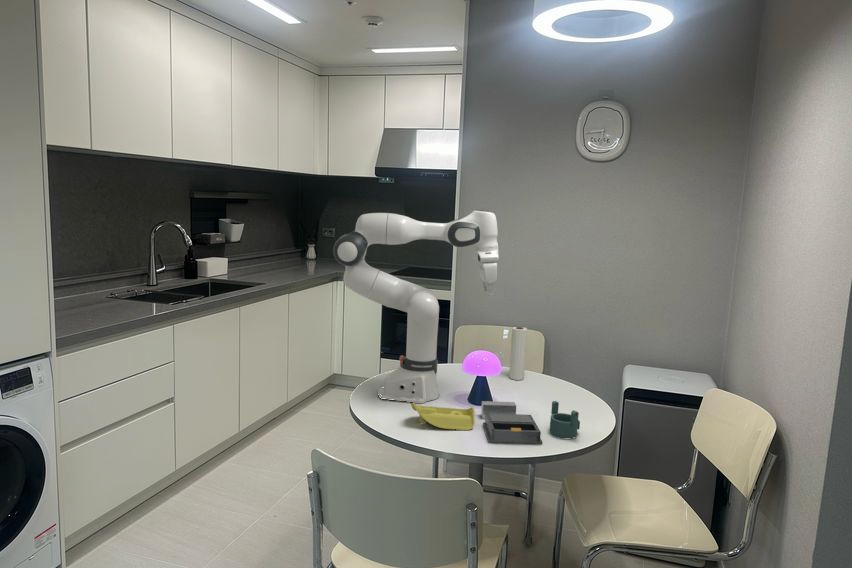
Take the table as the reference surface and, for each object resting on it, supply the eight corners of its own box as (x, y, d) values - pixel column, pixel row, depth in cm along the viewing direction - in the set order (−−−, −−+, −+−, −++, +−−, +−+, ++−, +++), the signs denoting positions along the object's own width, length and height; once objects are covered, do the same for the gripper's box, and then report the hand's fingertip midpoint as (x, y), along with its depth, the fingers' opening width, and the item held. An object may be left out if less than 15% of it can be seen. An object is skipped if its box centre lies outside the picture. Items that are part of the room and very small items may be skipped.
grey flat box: (488, 442, 164) (489, 428, 163) (482, 424, 178) (483, 411, 177) (542, 444, 164) (543, 430, 164) (532, 426, 178) (533, 413, 178)
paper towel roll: (512, 380, 226) (515, 329, 223) (507, 376, 232) (510, 326, 229) (528, 380, 228) (532, 329, 225) (523, 375, 234) (526, 326, 231)
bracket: (575, 441, 168) (578, 412, 167) (545, 435, 172) (547, 407, 170) (580, 431, 176) (582, 404, 175) (551, 425, 180) (553, 399, 179)
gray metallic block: (482, 419, 183) (483, 404, 182) (481, 415, 187) (481, 401, 186) (515, 420, 183) (516, 405, 183) (513, 416, 187) (514, 402, 186)
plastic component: (468, 409, 185) (475, 406, 175) (467, 432, 182) (474, 430, 173) (409, 405, 182) (413, 401, 173) (408, 428, 180) (411, 426, 171)
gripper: (474, 253, 208) (476, 289, 210) (480, 258, 188) (482, 298, 190) (491, 252, 208) (492, 288, 210) (499, 256, 188) (501, 297, 190)
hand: (488, 293), depth 200 cm, fingers open, 8 cm apart
